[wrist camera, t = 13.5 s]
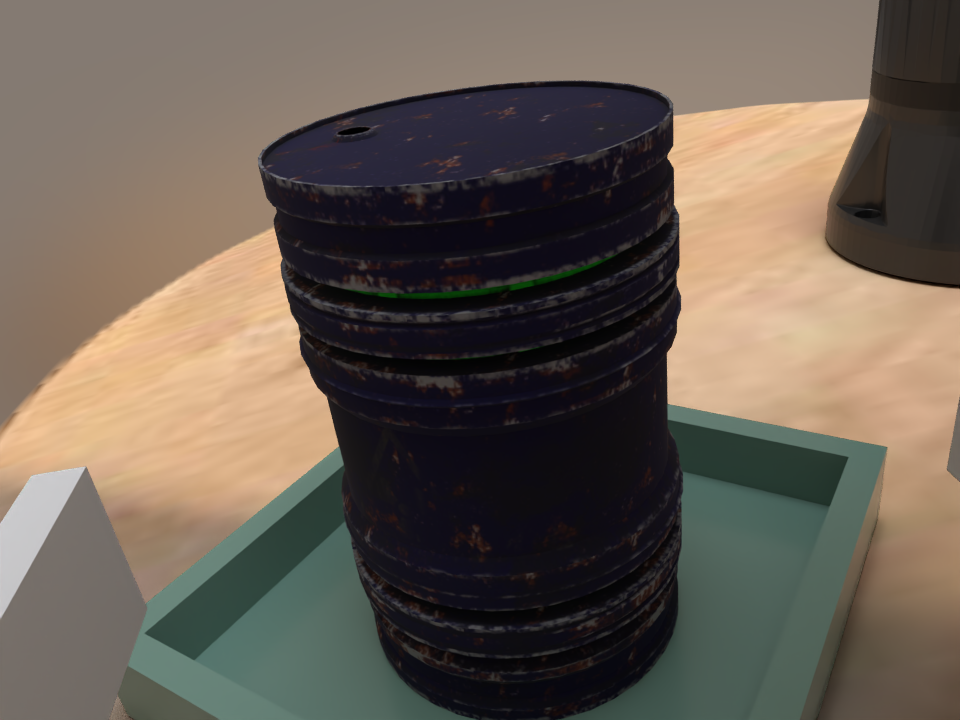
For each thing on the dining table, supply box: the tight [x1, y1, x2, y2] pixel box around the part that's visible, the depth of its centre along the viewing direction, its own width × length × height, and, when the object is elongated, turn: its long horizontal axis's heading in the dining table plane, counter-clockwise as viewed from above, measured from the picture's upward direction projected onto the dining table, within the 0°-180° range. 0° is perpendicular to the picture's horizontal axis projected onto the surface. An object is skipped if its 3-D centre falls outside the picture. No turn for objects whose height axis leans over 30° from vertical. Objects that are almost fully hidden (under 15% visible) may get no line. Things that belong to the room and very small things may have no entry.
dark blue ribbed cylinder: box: [258, 81, 683, 720], centre depth 23 cm, size 10×10×15 cm
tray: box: [118, 404, 887, 720], centre depth 26 cm, size 18×18×3 cm
